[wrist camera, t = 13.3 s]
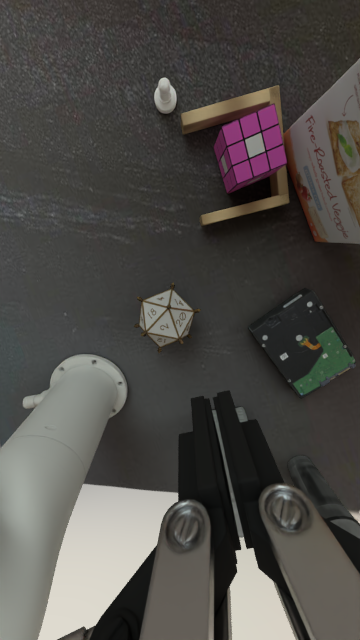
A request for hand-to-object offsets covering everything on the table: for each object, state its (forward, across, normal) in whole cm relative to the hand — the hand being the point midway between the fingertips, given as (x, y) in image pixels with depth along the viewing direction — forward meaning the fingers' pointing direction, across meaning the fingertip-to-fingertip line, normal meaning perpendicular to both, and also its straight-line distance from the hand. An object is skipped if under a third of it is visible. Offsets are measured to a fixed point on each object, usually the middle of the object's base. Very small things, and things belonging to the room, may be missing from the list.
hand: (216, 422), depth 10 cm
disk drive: (+27, -15, +12) cm, 33 cm away
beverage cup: (+27, -13, +38) cm, 49 cm away
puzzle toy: (+27, -10, -15) cm, 33 cm away
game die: (+27, +4, +2) cm, 28 cm away
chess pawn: (+27, -2, -23) cm, 36 cm away
